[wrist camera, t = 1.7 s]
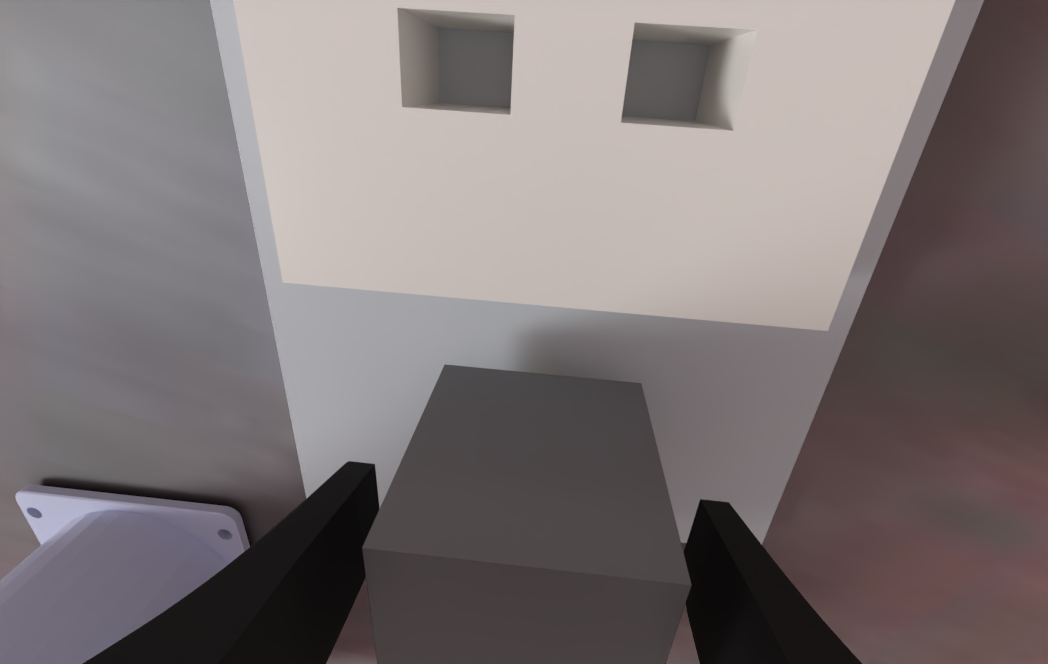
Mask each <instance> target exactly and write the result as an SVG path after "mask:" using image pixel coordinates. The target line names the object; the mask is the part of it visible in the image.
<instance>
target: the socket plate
mask: <svg viewBox="0 0 1048 664" xmlns="http://www.w3.org/2000/svg"><path fill="white" fill-rule="evenodd" d="M233 3H234V9H235V14H236V20H237V26H238V31H239V37H240V43H241V48H242V54H243V60H244V66H245V71H246V77H247V83H248V88H249V94H250V100H251V105H252V111H253V117H254V122H255V128H256V134H257V140H258V145H259V151H260V157H261V162H262V168H263V174H264V179H265V185H266V191H267V197H268V202H269V208H270V214H271V219H272V225H273V231H274V236H275V242H276V248H277V253H278V259H279V265H280V271H281V276H282V282H283V283H293V284H304V285H315V286H327V287H338V288H349V289H360V290H372V291H383V292H394V293H405V294H417V295H428V296H439V297H450V298H462V299H473V300H484V301H495V302H507V303H518V304H529V305H540V306H552V307H563V308H574V309H585V310H597V311H608V312H619V313H630V314H642V315H653V316H664V317H675V318H687V319H698V320H709V321H720V322H732V323H743V324H754V325H765V326H777V327H788V328H799V329H810V330H821V331H828V329H829V327H830V324H831V321H832V319H833V316H834V314H835V311H836V308H837V306H838V303H839V301H840V298H841V296H842V293H843V290H844V288H845V285H846V283H847V280H848V277H849V275H850V272H851V270H852V267H853V264H854V262H855V259H856V257H857V254H858V251H859V249H860V246H861V244H862V241H863V239H864V236H865V233H866V231H867V228H868V226H869V223H870V220H871V218H872V215H873V213H874V210H875V207H876V205H877V202H878V200H879V197H880V195H881V192H882V189H883V187H884V184H885V182H886V179H887V176H888V174H889V171H890V169H891V166H892V163H893V161H894V158H895V156H896V153H897V151H898V148H899V145H900V143H901V140H902V138H903V135H904V132H905V130H906V127H907V125H908V122H909V119H910V117H911V114H912V112H913V109H914V107H915V104H916V101H917V99H918V96H919V94H920V91H921V88H922V86H923V83H924V81H925V78H926V75H927V73H928V70H929V68H930V65H931V62H932V60H933V57H934V55H935V52H936V50H937V47H938V44H939V42H940V39H941V37H942V34H943V31H944V29H945V26H946V24H947V21H948V18H949V16H950V13H951V11H952V8H953V6H954V3H955V0H233ZM439 28H454V29H470V30H485V31H501V32H514V42H513V65H512V88H511V108H502V107H488V106H474V105H460V104H446V103H440V76H439ZM632 40H643V41H659V42H675V43H691V44H707V45H710V50H709V55H708V60H707V65H706V70H705V75H704V80H703V85H702V90H701V95H700V99H699V104H698V109H697V114H696V119H695V121H687V120H673V119H659V118H644V117H630V116H622V111H623V104H624V96H625V89H626V82H627V75H628V68H629V60H630V53H631V46H632Z"/></svg>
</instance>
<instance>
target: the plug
mask: <svg viewBox="0 0 1048 664" xmlns="http://www.w3.org/2000/svg"><path fill="white" fill-rule="evenodd" d="M362 550H363V558H364V566H365V573H366V581H367V589H368V596H369V604H370V612H371V619H372V627H373V635H374V642H375V650H376V657H377V664H666V661H667V658H668V655H669V652H670V649H671V646H672V643H673V640H674V637H675V634H676V631H677V627H678V624H679V621H680V618H681V615H682V612H683V609H684V606H685V603H686V600H687V597H688V594H689V591H690V588H691V581H690V577H689V573H688V569H687V565H686V561H685V557H684V553H683V549H682V545H681V541H680V537H679V533H678V529H677V525H676V521H675V517H674V512H673V508H672V504H671V500H670V496H669V492H668V488H667V484H666V480H665V476H664V472H663V468H662V464H661V460H660V456H659V452H658V448H657V444H656V440H655V436H654V432H653V428H652V424H651V420H650V416H649V412H648V408H647V404H646V400H645V396H644V392H643V388H642V384H641V383H635V382H624V381H614V380H603V379H593V378H582V377H572V376H561V375H551V374H540V373H530V372H519V371H509V370H498V369H488V368H477V367H467V366H456V365H446V364H445V365H444V367H443V369H442V371H441V374H440V376H439V378H438V380H437V382H436V385H435V387H434V389H433V391H432V394H431V396H430V398H429V400H428V402H427V405H426V407H425V409H424V411H423V414H422V416H421V418H420V420H419V422H418V425H417V427H416V429H415V431H414V434H413V436H412V438H411V440H410V442H409V445H408V447H407V449H406V451H405V454H404V456H403V458H402V460H401V462H400V465H399V467H398V469H397V471H396V474H395V476H394V478H393V480H392V482H391V485H390V487H389V489H388V491H387V494H386V496H385V498H384V500H383V502H382V505H381V507H380V509H379V511H378V514H377V516H376V518H375V520H374V522H373V525H372V527H371V529H370V531H369V534H368V536H367V538H366V540H365V542H364V545H363V547H362Z"/></svg>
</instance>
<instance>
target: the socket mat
mask: <svg viewBox="0 0 1048 664" xmlns="http://www.w3.org/2000/svg"><path fill="white" fill-rule="evenodd" d="M983 2H984V0H955V3H954V6H953V8H952V11H951V13H950V16H949V18H948V21H947V24H946V26H945V29H944V31H943V34H942V37H941V39H940V42H939V44H938V47H937V50H936V52H935V55H934V57H933V60H932V62H931V65H930V68H929V70H928V73H927V75H926V78H925V81H924V83H923V86H922V88H921V91H920V94H919V96H918V99H917V101H916V104H915V107H914V109H913V112H912V114H911V117H910V119H909V122H908V125H907V127H906V130H905V132H904V135H903V138H902V140H901V143H900V145H899V148H898V151H897V153H896V156H895V158H894V161H893V163H892V166H891V169H890V171H889V174H888V176H887V179H886V182H885V184H884V187H883V189H882V192H881V195H880V197H879V200H878V202H877V205H876V207H875V210H874V213H873V215H872V218H871V220H870V223H869V226H868V228H867V231H866V233H865V236H864V239H863V241H862V244H861V246H860V249H859V251H858V254H857V257H856V259H855V262H854V264H853V267H852V270H851V272H850V275H849V277H848V280H847V283H846V285H845V288H844V290H843V293H842V296H841V298H840V301H839V303H838V306H837V308H836V311H835V314H834V316H833V319H832V321H831V324H830V327H829V329H828V331H821V330H810V329H799V328H788V327H777V326H765V325H754V324H743V323H732V322H720V321H709V320H698V319H687V318H675V317H664V316H653V315H642V314H630V313H619V312H608V311H597V310H585V309H574V308H563V307H552V306H540V305H529V304H518V303H507V302H495V301H484V300H473V299H462V298H450V297H439V296H428V295H417V294H405V293H394V292H383V291H372V290H360V289H349V288H338V287H327V286H315V285H304V284H293V283H283V282H282V276H281V271H280V265H279V259H278V253H277V248H276V242H275V236H274V231H273V225H272V219H271V214H270V208H269V202H268V197H267V191H266V185H265V179H264V174H263V168H262V162H261V157H260V151H259V145H258V140H257V134H256V128H255V122H254V117H253V111H252V105H251V100H250V94H249V88H248V83H247V77H246V71H245V66H244V60H243V54H242V48H241V43H240V37H239V31H238V26H237V20H236V14H235V9H234V3H233V0H210V3H211V8H212V13H213V19H214V24H215V29H216V34H217V39H218V44H219V50H220V55H221V60H222V65H223V70H224V75H225V81H226V86H227V91H228V96H229V101H230V106H231V112H232V117H233V122H234V127H235V132H236V137H237V143H238V148H239V153H240V158H241V163H242V168H243V174H244V179H245V184H246V189H247V194H248V199H249V205H250V210H251V215H252V220H253V225H254V230H255V236H256V241H257V246H258V251H259V256H260V261H261V267H262V272H263V277H264V282H265V287H266V292H267V298H268V303H269V308H270V313H271V318H272V323H273V329H274V334H275V339H276V344H277V349H278V354H279V360H280V365H281V370H282V375H283V380H284V385H285V391H286V396H287V401H288V406H289V411H290V416H291V422H292V427H293V432H294V437H295V442H296V447H297V453H298V458H299V463H300V468H301V473H302V478H303V484H304V489H305V494H306V499H307V498H308V497H309V496H310V495H311V494H312V493H313V492H314V491H315V490H317V489H318V488H319V487H320V486H321V485H322V484H323V483H324V482H325V481H326V480H327V479H329V478H330V477H331V476H332V475H333V474H334V473H335V472H336V471H337V470H338V469H340V468H341V467H342V466H343V465H344V464H345V463H347V462H348V461H353V462H362V463H371V464H375V470H376V480H377V489H378V499H379V509H380V507H381V505H382V502H383V500H384V498H385V496H386V494H387V491H388V489H389V487H390V485H391V482H392V480H393V478H394V476H395V474H396V471H397V469H398V467H399V465H400V462H401V460H402V458H403V456H404V454H405V451H406V449H407V447H408V445H409V442H410V440H411V438H412V436H413V434H414V431H415V429H416V427H417V425H418V422H419V420H420V418H421V416H422V414H423V411H424V409H425V407H426V405H427V402H428V400H429V398H430V396H431V394H432V391H433V389H434V387H435V385H436V382H437V380H438V378H439V376H440V374H441V371H442V369H443V367H444V365H445V364H446V365H456V366H467V367H477V368H488V369H498V370H509V371H519V372H530V373H540V374H551V375H561V376H572V377H582V378H593V379H603V380H614V381H624V382H635V383H641V384H642V388H643V392H644V396H645V400H646V404H647V408H648V412H649V416H650V420H651V424H652V428H653V432H654V436H655V440H656V444H657V448H658V452H659V456H660V460H661V464H662V468H663V472H664V476H665V480H666V484H667V488H668V492H669V496H670V500H671V504H672V508H673V512H674V517H675V521H676V525H677V529H678V533H679V537H680V541H681V543H687V540H688V537H689V534H690V530H691V527H692V524H693V521H694V517H695V514H696V511H697V508H698V504H699V501H700V499H703V500H713V501H722V502H729V503H730V504H731V506H732V507H733V508H734V510H735V511H736V512H737V513H738V515H739V516H740V517H741V519H742V520H743V521H744V522H745V524H746V525H747V526H748V528H749V529H750V530H751V532H752V533H753V534H754V536H755V537H756V538H757V539H758V541H759V542H760V543H761V545H762V543H763V540H764V538H765V536H766V533H767V531H768V528H769V526H770V523H771V521H772V518H773V516H774V514H775V511H776V509H777V506H778V504H779V501H780V499H781V496H782V494H783V492H784V489H785V487H786V484H787V482H788V479H789V477H790V474H791V472H792V469H793V467H794V465H795V462H796V460H797V457H798V455H799V452H800V450H801V447H802V445H803V443H804V440H805V438H806V435H807V433H808V430H809V428H810V425H811V423H812V421H813V418H814V416H815V413H816V411H817V408H818V406H819V403H820V401H821V399H822V396H823V394H824V391H825V389H826V386H827V384H828V381H829V379H830V376H831V374H832V372H833V369H834V367H835V364H836V362H837V359H838V357H839V354H840V352H841V350H842V347H843V345H844V342H845V340H846V337H847V335H848V332H849V330H850V328H851V325H852V323H853V320H854V318H855V315H856V313H857V310H858V308H859V305H860V303H861V301H862V298H863V296H864V293H865V291H866V288H867V286H868V283H869V281H870V279H871V276H872V274H873V271H874V269H875V266H876V264H877V261H878V259H879V257H880V254H881V252H882V249H883V247H884V244H885V242H886V239H887V237H888V235H889V232H890V230H891V227H892V225H893V222H894V220H895V217H896V215H897V212H898V210H899V208H900V205H901V203H902V200H903V198H904V195H905V193H906V190H907V188H908V186H909V183H910V181H911V178H912V176H913V173H914V171H915V168H916V166H917V164H918V161H919V159H920V156H921V154H922V151H923V149H924V146H925V144H926V142H927V139H928V137H929V134H930V132H931V129H932V127H933V124H934V122H935V119H936V117H937V115H938V112H939V110H940V107H941V105H942V102H943V100H944V97H945V95H946V93H947V90H948V88H949V85H950V83H951V80H952V78H953V75H954V73H955V71H956V68H957V66H958V63H959V61H960V58H961V56H962V53H963V51H964V48H965V46H966V44H967V41H968V39H969V36H970V34H971V31H972V29H973V26H974V24H975V22H976V19H977V17H978V14H979V12H980V9H981V7H982V4H983ZM513 42H514V32H501V31H485V30H470V29H454V28H439V76H440V103H446V104H460V105H474V106H488V107H502V108H511V88H512V65H513ZM709 50H710V45H707V44H691V43H675V42H659V41H643V40H632V46H631V53H630V60H629V68H628V75H627V82H626V89H625V96H624V104H623V111H622V116H630V117H644V118H659V119H673V120H687V121H695V119H696V114H697V109H698V104H699V99H700V95H701V90H702V85H703V80H704V75H705V70H706V65H707V60H708V55H709Z"/></svg>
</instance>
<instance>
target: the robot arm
mask: <svg viewBox="0 0 1048 664" xmlns="http://www.w3.org/2000/svg"><path fill="white" fill-rule="evenodd" d="M16 501H17V503H18V504H19V506H20V508H21V510H22V512H23V513H24V515H25V517H26V519H27V520H28V522H29V524H30V526H31V528H32V529H33V531H34V533H35V535H36V536H37V538H38V540H39V542H40V544H41V546H40V547H39V548H37V549H36V550H35V551H34V552H33V553H32V554H30V555H29V556H28V557H27V558H26V559H25V560H24V561H22V562H21V563H20V564H19V565H18V566H17V567H15V568H14V569H13V570H12V571H11V572H10V573H8V574H7V575H6V576H5V577H4V578H3V579H2V580H0V664H326V662H327V660H328V658H329V656H330V654H331V652H332V649H333V647H334V645H335V643H336V641H337V638H338V636H339V634H340V632H341V630H342V628H343V625H344V623H345V621H346V619H347V617H348V615H349V612H350V610H351V608H352V606H353V604H354V601H355V599H356V597H357V595H358V592H359V590H360V588H361V586H362V584H363V581H364V579H365V577H366V573H365V566H364V558H363V550H362V547H363V545H364V542H365V540H366V538H367V536H368V534H369V531H370V529H371V527H372V525H373V522H374V520H375V518H376V516H377V514H378V511H379V499H378V489H377V480H376V470H375V464H371V463H362V462H353V461H348V462H347V463H345V464H344V465H343V466H342V467H341V468H340V469H338V470H337V471H336V472H335V473H334V474H333V475H332V476H331V477H330V478H329V479H327V480H326V481H325V482H324V483H323V484H322V485H321V486H320V487H319V488H318V489H317V490H315V491H314V492H313V493H312V494H311V495H310V496H309V497H308V498H307V499H305V500H304V501H303V502H302V503H301V504H300V505H299V506H298V507H297V508H295V509H294V510H293V511H292V512H291V513H290V514H288V515H287V516H286V517H285V518H284V519H283V520H282V521H280V522H279V523H278V524H277V525H276V526H275V527H273V528H272V529H271V530H270V531H269V532H268V533H266V534H265V535H264V536H263V537H262V538H261V539H259V540H258V541H257V542H256V543H254V544H253V545H252V546H251V547H250V545H249V541H248V538H247V534H246V531H245V527H244V524H243V520H242V517H241V515H240V513H239V512H238V511H237V510H235V509H234V508H232V507H228V506H222V505H213V504H204V503H195V502H186V501H177V500H168V499H159V498H150V497H141V496H132V495H123V494H114V493H105V492H96V491H87V490H78V489H69V488H60V487H51V486H42V485H27V486H26V487H24V488H23V489H21V490H20V491H19V492H17V493H16ZM684 557H685V561H686V565H687V569H688V573H689V577H690V581H691V588H690V591H689V594H688V597H687V600H686V607H687V613H688V617H689V621H690V626H691V630H692V634H693V638H694V642H695V646H696V650H697V654H698V657H699V661H700V664H862V663H861V662H860V661H859V660H858V659H857V658H856V657H855V656H854V655H853V653H852V652H851V651H850V650H849V649H848V648H847V647H846V646H845V645H844V643H843V642H842V641H841V640H840V639H839V638H838V637H837V636H836V634H835V633H834V632H833V631H832V630H831V629H830V628H829V627H828V626H827V624H826V623H825V622H824V621H823V620H822V619H821V617H820V616H819V615H818V614H817V613H816V612H815V610H814V609H813V608H812V607H811V606H810V604H809V603H808V602H807V601H806V600H805V598H804V597H803V596H802V595H801V594H800V592H799V591H798V590H797V589H796V587H795V586H794V585H793V584H792V583H791V581H790V580H789V579H788V578H787V576H786V575H785V574H784V573H783V571H782V570H781V569H780V568H779V566H778V565H777V564H776V563H775V561H774V560H773V559H772V558H771V556H770V555H769V554H768V552H767V551H766V550H765V549H764V547H763V546H762V545H761V543H760V542H759V541H758V539H757V538H756V537H755V536H754V534H753V533H752V532H751V530H750V529H749V528H748V526H747V525H746V524H745V522H744V521H743V520H742V519H741V517H740V516H739V515H738V513H737V512H736V511H735V510H734V508H733V507H732V506H731V504H730V503H729V502H722V501H713V500H703V499H700V501H699V504H698V508H697V511H696V514H695V517H694V521H693V524H692V527H691V530H690V534H689V537H688V540H687V543H686V547H685V550H684Z"/></svg>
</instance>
